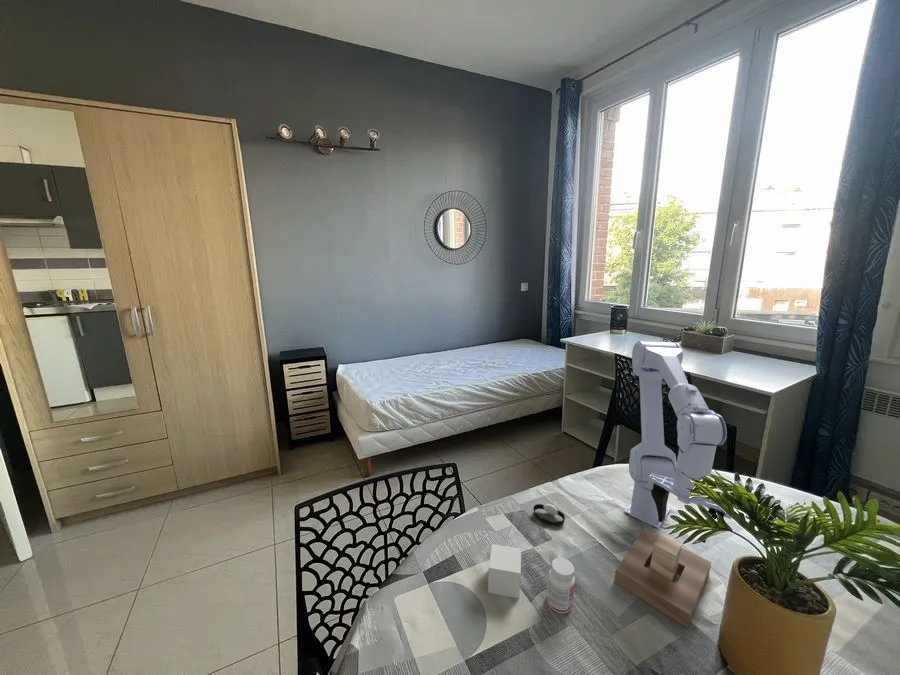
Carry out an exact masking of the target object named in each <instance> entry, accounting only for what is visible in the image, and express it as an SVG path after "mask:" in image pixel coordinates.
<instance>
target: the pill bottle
mask: <svg viewBox="0 0 900 675" xmlns="http://www.w3.org/2000/svg"><path fill="white" fill-rule="evenodd" d="M575 577H576V576H575V567H574V564H573V563H572V562H571V561H570V560H569V559H567V558H564V557H555V558H554V559H552V561H551V568H550V569H549V572H548V576H547V578H548V579H547V587H546V596H545V597H546V602H547V605H548V606H549V608H550V609H551V610H552V611H554V612H556V613H559V614H567V613H569V612H570V611H571V610H572V609H573V603H574V595H575V594H574V593H575V585H576V578H575Z"/></svg>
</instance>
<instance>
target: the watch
mask: <svg viewBox="0 0 900 675" xmlns="http://www.w3.org/2000/svg"><path fill="white" fill-rule="evenodd" d="M536 510H544V511H545V512H546V513H547V514H549V515H551V516H559V517H561V519H562V520H560V521H553V520H549V519H546V518H544V517H543V516H540V515H538V514H537V512H536ZM533 515H534V517H535V519H537V520H538V521H540V522H541V523H542V524H546V525H549V526H552V527H561V526H563V525H564V523H565V521H566V520H565V514H564V513H563V511H560V510H558V508H557V507H556V506H555V505H554V504H551V503H547V504H541V503H537V504H535V505H534V506H533Z"/></svg>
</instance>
